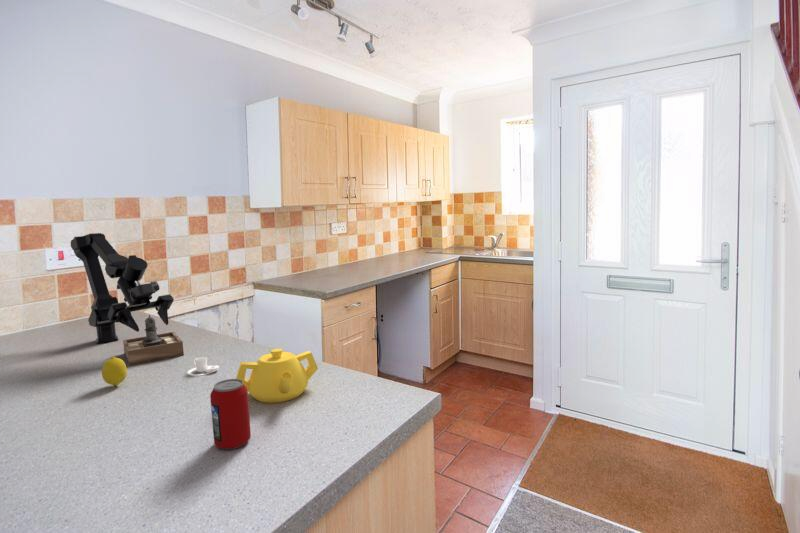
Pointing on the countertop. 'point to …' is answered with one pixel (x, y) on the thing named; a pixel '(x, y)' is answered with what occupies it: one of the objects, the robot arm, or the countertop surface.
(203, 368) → the teacup and saucer
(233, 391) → the beverage can
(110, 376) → the lemon
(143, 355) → the walnut box
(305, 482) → the countertop surface
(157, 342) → the grey stone tall piece
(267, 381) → the teapot
